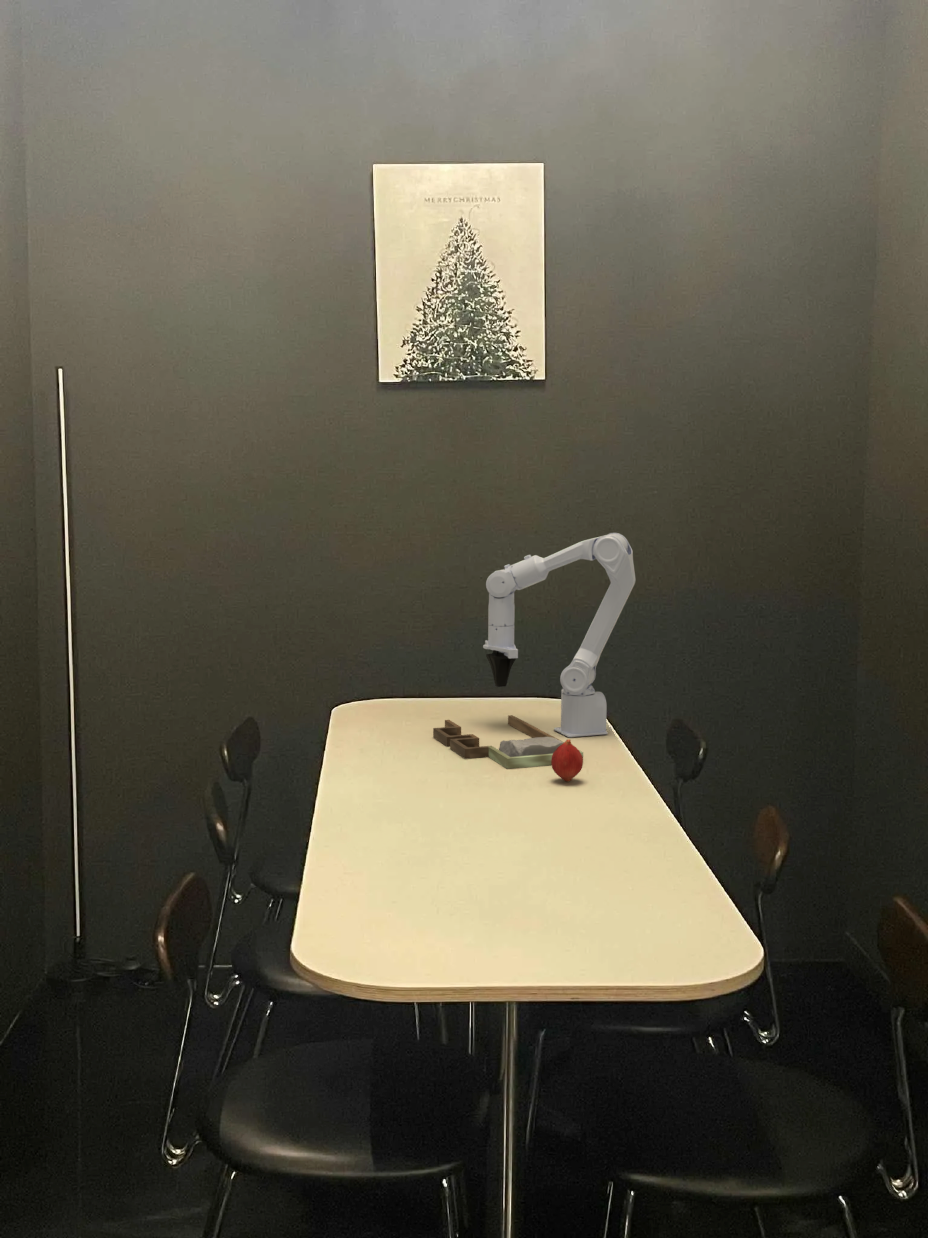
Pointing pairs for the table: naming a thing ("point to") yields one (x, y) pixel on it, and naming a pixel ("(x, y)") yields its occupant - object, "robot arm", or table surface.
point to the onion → (567, 761)
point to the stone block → (530, 746)
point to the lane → (470, 746)
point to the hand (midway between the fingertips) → (500, 686)
